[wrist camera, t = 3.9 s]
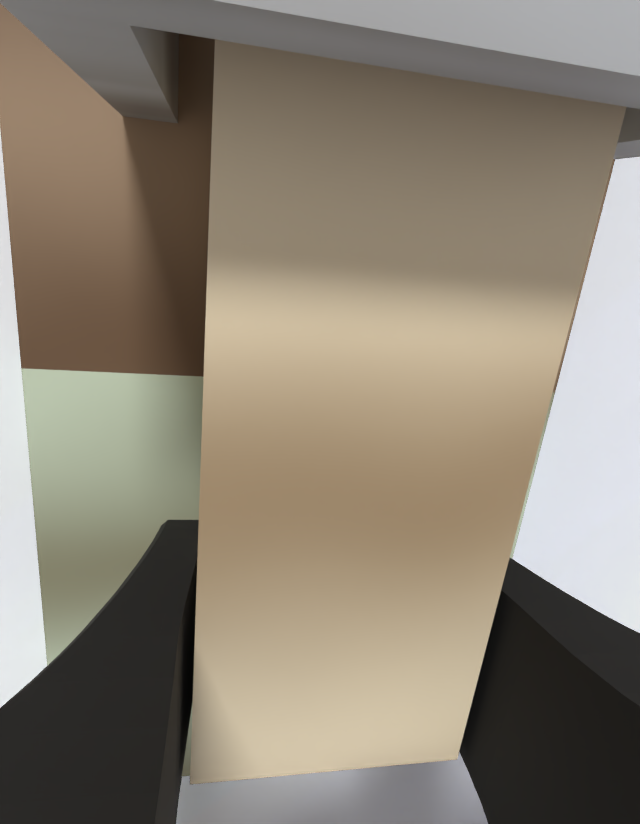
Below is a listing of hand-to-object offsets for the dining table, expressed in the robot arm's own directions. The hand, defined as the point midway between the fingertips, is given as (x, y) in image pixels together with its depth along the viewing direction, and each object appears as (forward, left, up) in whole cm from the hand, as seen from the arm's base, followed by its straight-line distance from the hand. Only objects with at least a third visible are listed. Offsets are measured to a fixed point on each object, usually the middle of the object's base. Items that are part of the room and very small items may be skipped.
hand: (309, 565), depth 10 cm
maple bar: (+3, 0, -1) cm, 3 cm away
